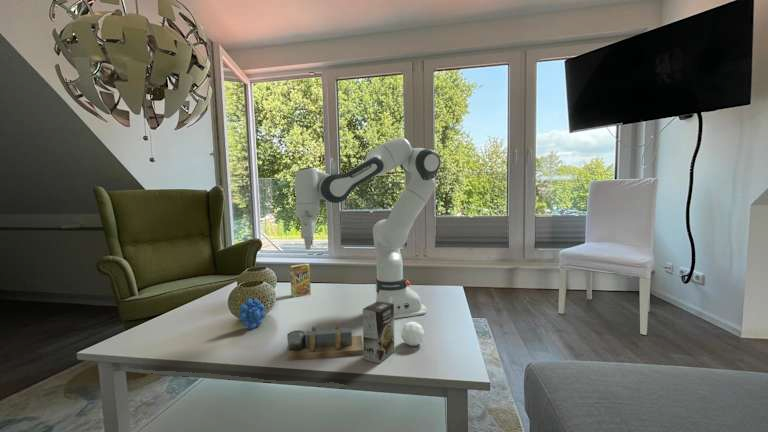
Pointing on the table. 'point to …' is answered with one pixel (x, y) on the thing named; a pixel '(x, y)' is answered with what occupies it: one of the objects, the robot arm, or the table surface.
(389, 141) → the robot arm
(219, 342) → the table surface
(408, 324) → the geometric ball
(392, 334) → the coffee box
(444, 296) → the table surface
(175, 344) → the table surface
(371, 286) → the table surface
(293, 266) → the candy box
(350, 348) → the peg board
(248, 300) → the grapes
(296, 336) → the grey bar
